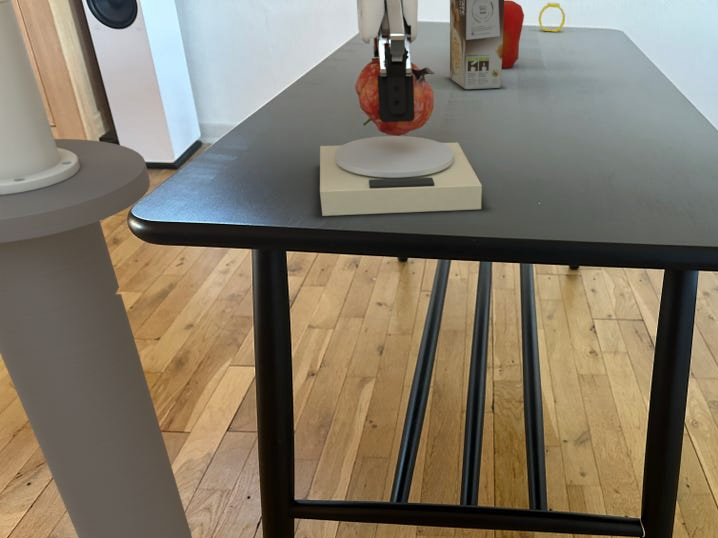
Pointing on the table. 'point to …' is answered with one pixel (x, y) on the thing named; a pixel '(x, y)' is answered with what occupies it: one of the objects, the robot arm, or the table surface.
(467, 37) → the coffee box
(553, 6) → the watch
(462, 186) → the scale
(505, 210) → the table surface
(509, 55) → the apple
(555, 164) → the table surface
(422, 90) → the pomegranate
